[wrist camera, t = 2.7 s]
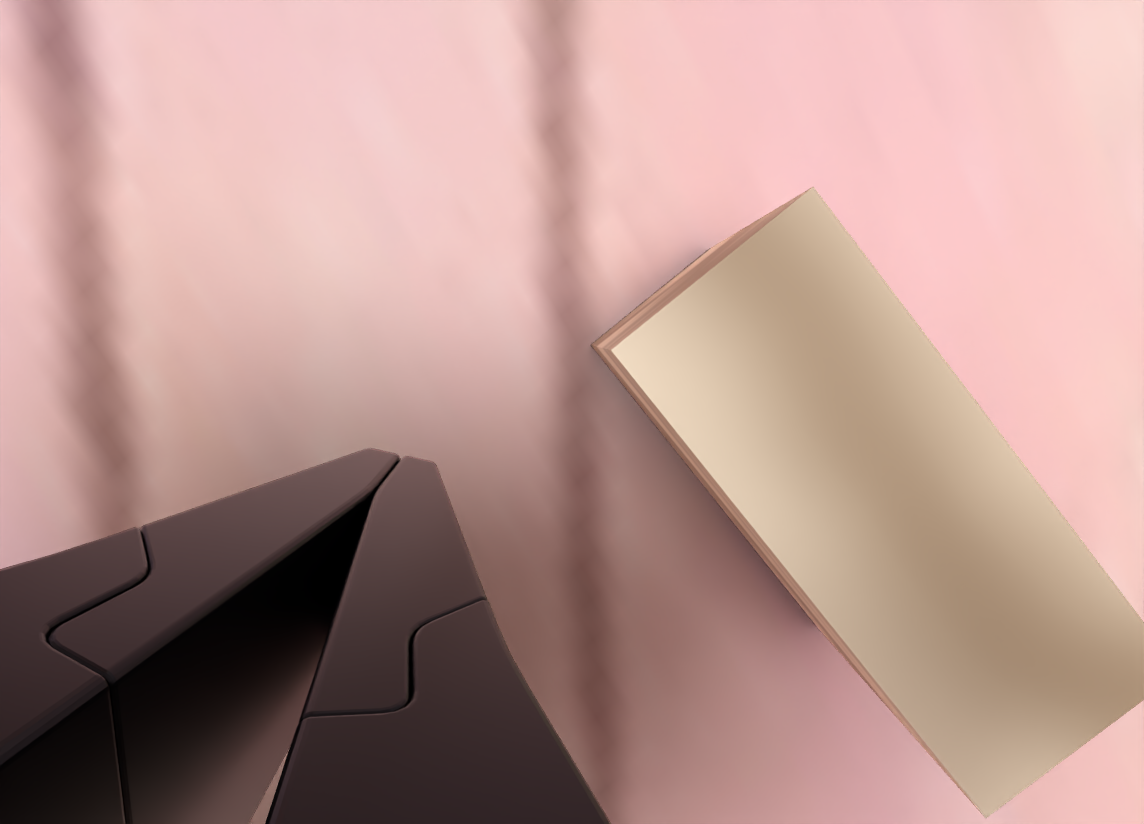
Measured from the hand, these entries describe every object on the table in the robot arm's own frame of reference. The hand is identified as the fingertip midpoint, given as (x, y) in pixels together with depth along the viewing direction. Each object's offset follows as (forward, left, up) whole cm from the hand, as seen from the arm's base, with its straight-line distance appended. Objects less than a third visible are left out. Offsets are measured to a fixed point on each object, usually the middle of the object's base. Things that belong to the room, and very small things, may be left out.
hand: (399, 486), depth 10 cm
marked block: (0, -8, -12) cm, 14 cm away
